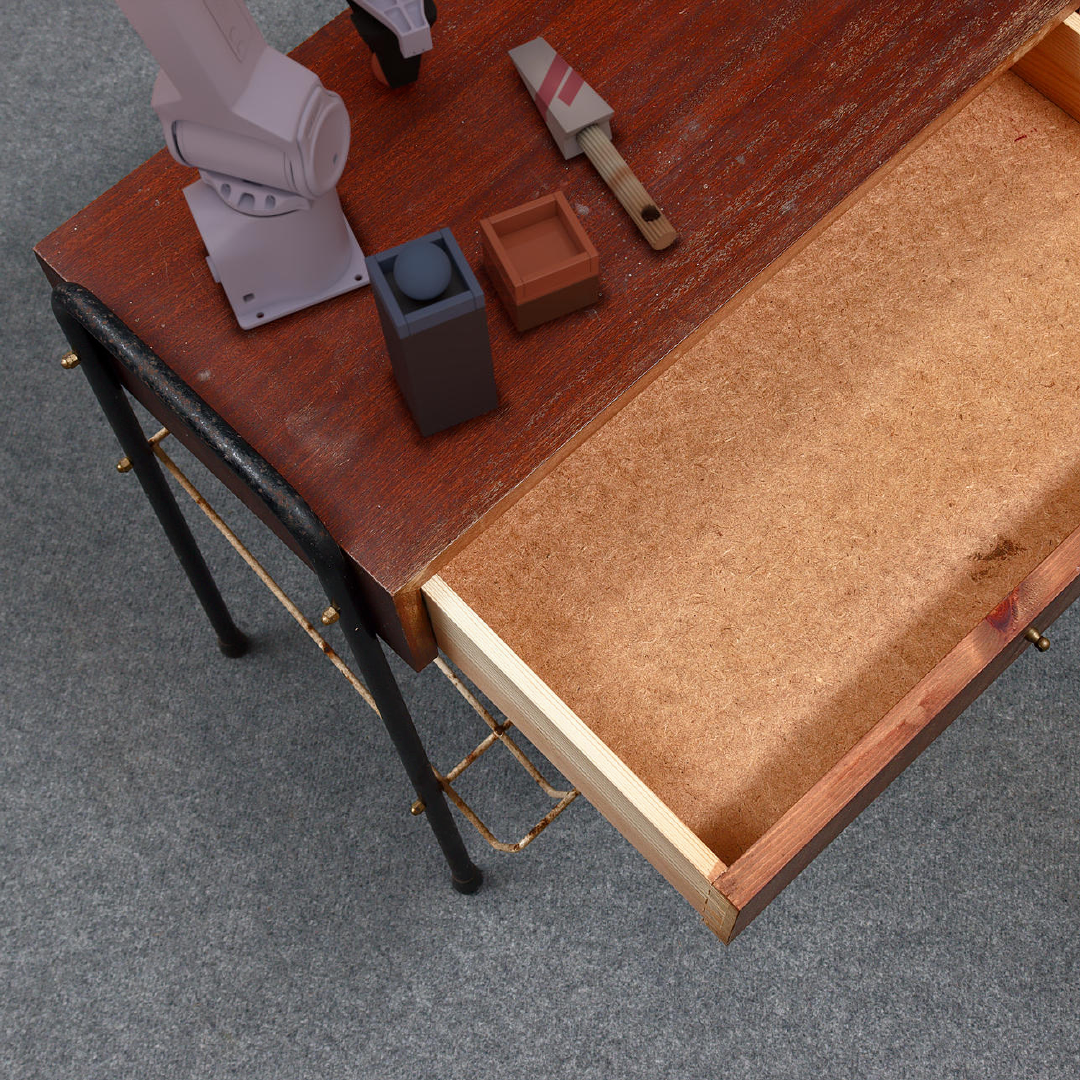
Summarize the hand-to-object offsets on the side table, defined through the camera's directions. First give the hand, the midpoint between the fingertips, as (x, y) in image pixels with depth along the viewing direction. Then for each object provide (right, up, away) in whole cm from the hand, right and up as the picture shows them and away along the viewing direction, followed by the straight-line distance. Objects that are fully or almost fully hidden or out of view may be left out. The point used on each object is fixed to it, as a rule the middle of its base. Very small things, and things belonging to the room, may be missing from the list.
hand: (394, 65), depth 92 cm
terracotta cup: (+11, -17, -7) cm, 22 cm away
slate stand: (+5, -25, -10) cm, 27 cm away
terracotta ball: (0, 0, 0) cm, 0 cm away
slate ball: (+4, -20, -22) cm, 30 cm away
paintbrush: (+14, -7, -2) cm, 16 cm away
